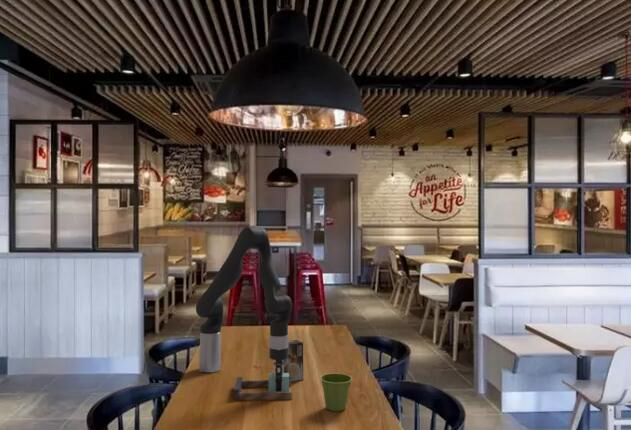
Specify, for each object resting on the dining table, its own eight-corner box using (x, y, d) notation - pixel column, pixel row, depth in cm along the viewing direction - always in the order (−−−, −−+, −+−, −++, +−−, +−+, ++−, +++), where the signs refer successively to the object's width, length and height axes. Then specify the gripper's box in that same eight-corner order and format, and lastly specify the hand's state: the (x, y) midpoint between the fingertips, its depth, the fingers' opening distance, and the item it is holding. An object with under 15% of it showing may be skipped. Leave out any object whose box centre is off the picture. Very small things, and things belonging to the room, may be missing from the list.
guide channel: (234, 400, 217) (234, 389, 217) (237, 386, 233) (237, 376, 233) (291, 399, 218) (291, 388, 218) (291, 385, 235) (291, 376, 235)
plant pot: (328, 416, 201) (328, 384, 200) (314, 405, 211) (314, 375, 211) (358, 411, 205) (358, 380, 205) (343, 401, 216) (343, 371, 216)
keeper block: (268, 394, 223) (268, 376, 223) (268, 390, 228) (268, 373, 228) (288, 394, 224) (289, 376, 224) (288, 390, 229) (288, 372, 229)
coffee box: (297, 376, 248) (297, 339, 248) (303, 380, 243) (303, 342, 242) (277, 378, 244) (278, 341, 244) (284, 383, 238) (284, 344, 238)
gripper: (269, 342, 233) (269, 383, 233) (269, 350, 218) (268, 395, 219) (288, 341, 233) (288, 383, 233) (288, 350, 219) (288, 394, 219)
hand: (278, 388), depth 226 cm, fingers closed on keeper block, 5 cm apart
